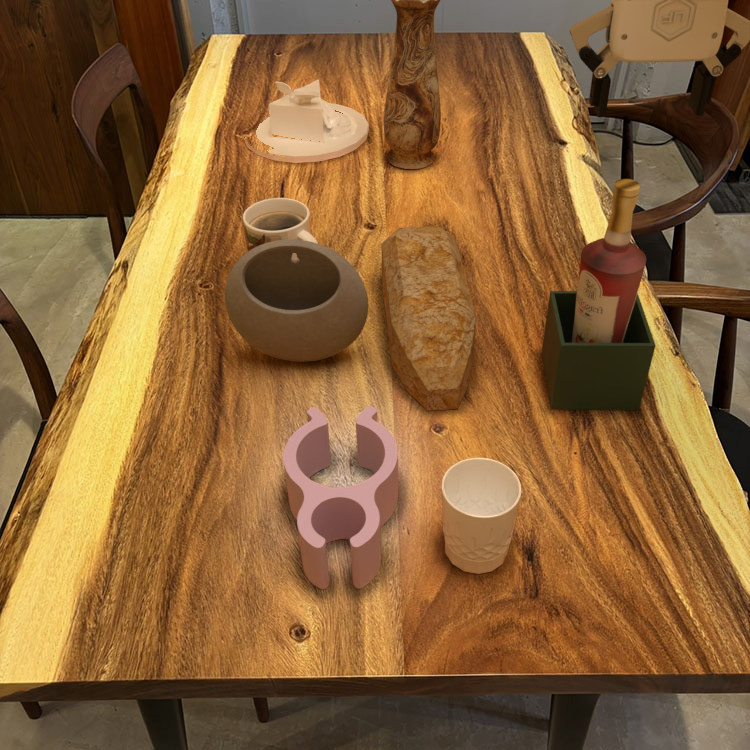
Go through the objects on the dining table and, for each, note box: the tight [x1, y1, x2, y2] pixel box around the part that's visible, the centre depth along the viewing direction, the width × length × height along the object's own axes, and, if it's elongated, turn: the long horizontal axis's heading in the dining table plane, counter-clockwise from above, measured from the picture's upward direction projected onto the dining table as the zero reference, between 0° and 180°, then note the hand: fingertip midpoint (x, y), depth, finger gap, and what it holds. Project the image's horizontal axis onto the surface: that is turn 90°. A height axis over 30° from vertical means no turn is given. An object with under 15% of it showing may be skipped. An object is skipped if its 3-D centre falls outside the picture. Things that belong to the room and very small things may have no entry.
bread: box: [380, 225, 477, 411], centre depth 116 cm, size 36×11×10 cm, turn 4°
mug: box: [242, 197, 319, 260], centre depth 125 cm, size 10×12×11 cm
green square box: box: [540, 290, 656, 411], centre depth 106 cm, size 11×11×10 cm
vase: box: [383, 0, 442, 170], centre depth 148 cm, size 10×11×30 cm
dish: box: [242, 79, 370, 164], centre depth 163 cm, size 25×25×11 cm
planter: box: [224, 240, 369, 363], centre depth 108 cm, size 18×7×19 cm, turn 88°
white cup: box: [441, 457, 522, 575], centre depth 86 cm, size 8×8×10 cm
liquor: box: [572, 178, 647, 343], centre depth 100 cm, size 7×7×28 cm
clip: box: [282, 405, 399, 590], centre depth 92 cm, size 20×12×7 cm, turn 0°
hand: (647, 111), depth 85 cm, fingers open, 9 cm apart
